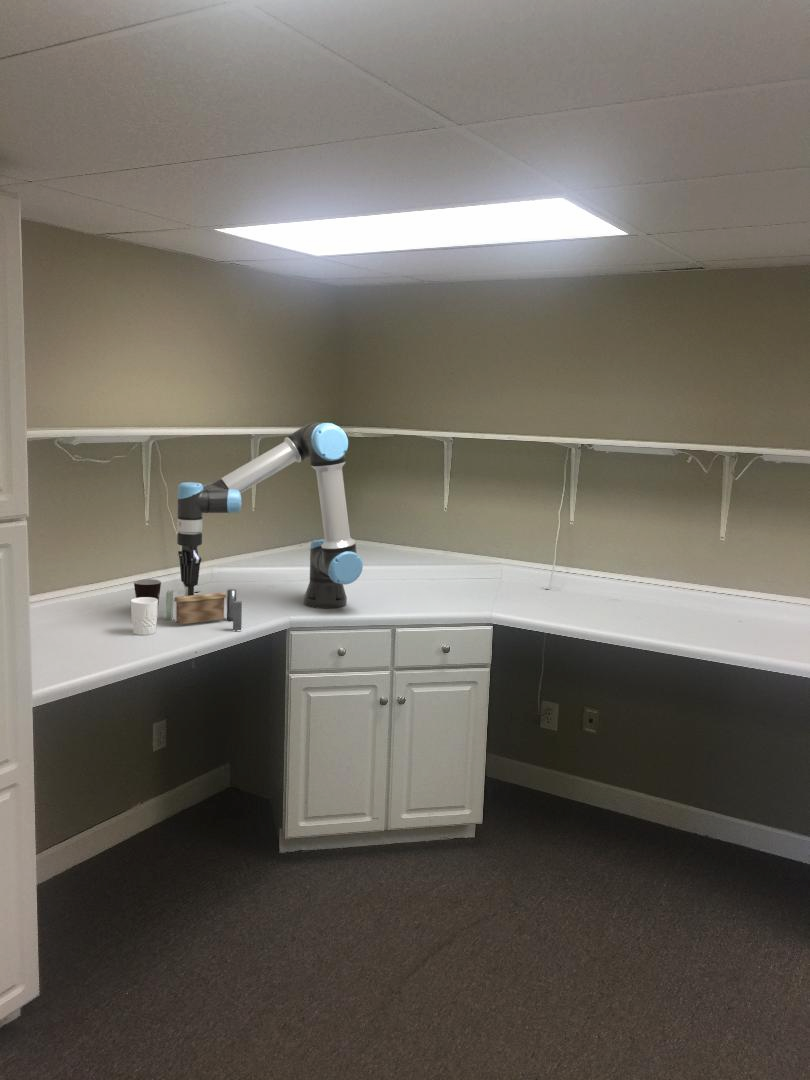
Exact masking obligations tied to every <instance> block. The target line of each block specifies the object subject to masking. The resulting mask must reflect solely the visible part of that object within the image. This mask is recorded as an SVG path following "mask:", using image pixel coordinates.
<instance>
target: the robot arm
mask: <svg viewBox="0 0 810 1080" xmlns="http://www.w3.org/2000/svg"><path fill="white" fill-rule="evenodd" d="M348 449H349V438H348V436H347V434H346V432H345V430H344V429H343V428H341V427H340V426H338V425H336V424H334V423H331V422H320V421H313V422H310V423H308V424H306V425H303V426H302V427H300V428H299V429H296V430H295V431H294V432H292V433H290V434H288V436H286V437H284V440H283V442H281V443H280V444H278V445H276V446H274V447H272V448H271V449H270V450H268V451H266V452H264V453H262V454H261V455H259V456H257V457H256V458H254V459H251V460H250V461H249V462H247V463H245V464H243V465H242V466H240V467H238V468H237V469H235V470H233V471H231V472H229V473H228V474H226V475H225V476H223V477H221V478H219V479H217V480H216V481H214V482H212V483H206V484H204V485H203V484H202V483H200V482H193V481H191V482H188V481H186V482H181V483H179V484H178V487H177V496H176V499H177V522H176V526H177V534H176V535H177V537H176V538H177V540H176V541H177V542H176V543H177V545H179V546H181V550H179V551H178V552H177V553H178V554H177V555H178V558H179V559H178V561H179V569H180V570H179V572H180V579H181V580H180V581H181V582H182V583H183V586H184V587H183V589H184V593H183V596H191V595H195V587H196V586H198V585H199V576H200V570H201V568H200V567H201V563H202V557H201V556H199V552H198V546H201V545H202V544H203V534H202V532H203V514H229V515H230V514H235V513H239V512H240V511H241V509H242V495H241V494H242V493H244V492H245V491H247V490H249V489H250V488H252V487H254V486H256V485H257V484H259V483H261V482H263V481H264V480H266V479H267V478H269V477H272V476H273V475H275V474H276V473H278V472H280V471H282V470H283V469H285V468H287V467H288V466H290V465H292V464H293V463H301V462H303V461H304V460H307V459H309V461H310V463H309V464H310V467H311V468H312V469H313V470H314V471H315V472H316V480H317V488H318V489H317V490H318V494H319V496H318V497H319V502H320V503H319V504H320V511H321V519H322V527H323V534H324V539H315V540H312V541H311V543H310V548H309V553H310V555H309V583H308V585H307V588H306V591H305V594H304V598H303V599H304V600H303V603H304V605H306V606H308V607H311V606H312V608H317V607H319V609H320V608H321V609H334V608H335V609H336V608H341V607H345V606H347V601H348V598H347V597H348V596H347V595H346V590H345V587H344V585H350V584H352V583H355V581H356V580H358V578H359V577H360V576H361V574H362V572H363V566H364V565H363V560H362V558H361V556H360V555H359V554H358V552H357V545H356V541H355V539H353V538H351V532H350V531H351V530H350V524H349V517H348V509H347V500H346V491H345V482H344V473H343V468H344V466H345V464H346V462H347V460H346V453H347V451H348Z"/></svg>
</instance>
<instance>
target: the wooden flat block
mask: <svg viewBox="0 0 810 1080" xmlns="http://www.w3.org/2000/svg"><path fill="white" fill-rule="evenodd" d="M225 599H227V593H225V592H214V593H202V594H194V595H191V596H184V595H182V596H174V601H175V602H176V606H175V607H176V614H175V615H176V619H175V620H176V623H177V624H178V625H183V624H191V623H200V622H208V621H216V620H224V618H225Z"/></svg>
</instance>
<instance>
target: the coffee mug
mask: <svg viewBox="0 0 810 1080" xmlns="http://www.w3.org/2000/svg"><path fill="white" fill-rule="evenodd" d="M133 585H134V594H135V595H134V596H135V598H140V597H151V598H156V599H158V605H159V602H160V594H161V587H162V581H161V580H158V579H153V578H152V579H151V578H150V579H149V578H147V579H146V578H144V579H136V580H134V582H133Z"/></svg>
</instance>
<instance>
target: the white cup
mask: <svg viewBox="0 0 810 1080" xmlns="http://www.w3.org/2000/svg"><path fill="white" fill-rule="evenodd" d="M157 611H159V604H158V599H156V598H151V597H140V598H136V597H134V598H132V599H130V614H131V616H130V617H131V623H132V625H131V626H132V633H133V634H134V635H138V636H149V635H154V634H155V633H156V632H157V624H158V612H157Z"/></svg>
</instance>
